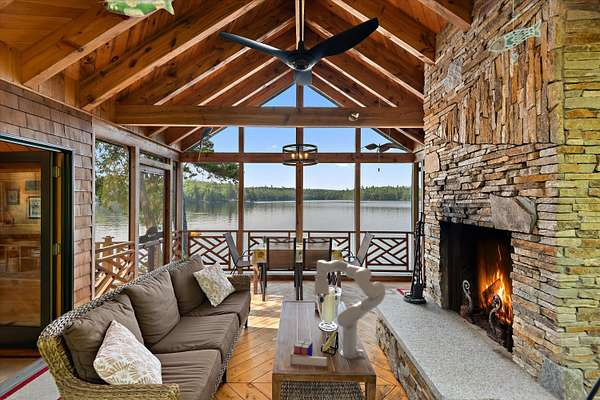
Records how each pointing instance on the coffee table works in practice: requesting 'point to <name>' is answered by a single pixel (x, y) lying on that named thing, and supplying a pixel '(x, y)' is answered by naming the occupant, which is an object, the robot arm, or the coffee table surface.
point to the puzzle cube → (303, 348)
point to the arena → (307, 359)
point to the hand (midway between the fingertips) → (321, 302)
